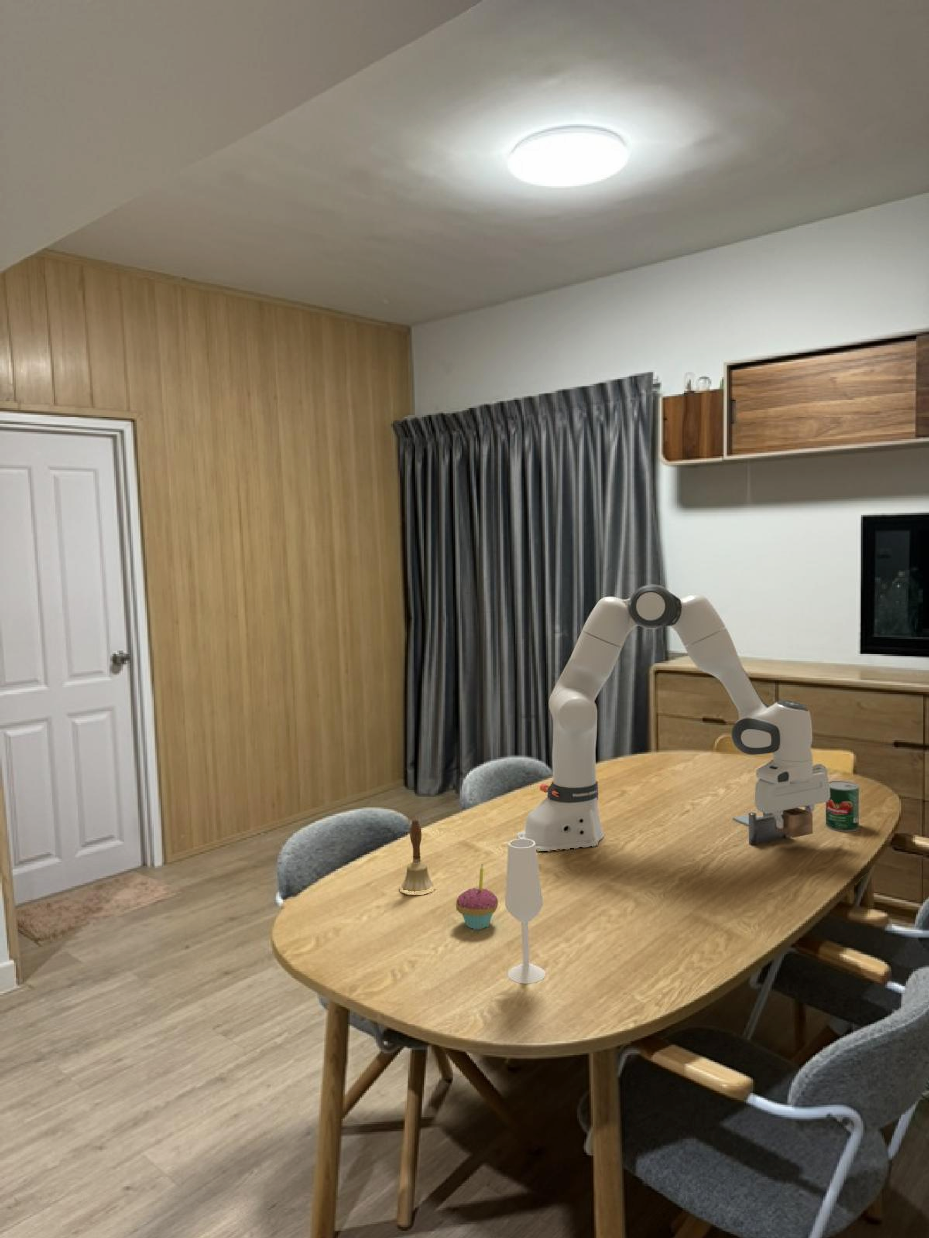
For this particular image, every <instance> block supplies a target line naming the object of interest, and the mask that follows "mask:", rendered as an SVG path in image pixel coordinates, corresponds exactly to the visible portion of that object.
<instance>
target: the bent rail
mask: <svg viewBox="0 0 929 1238" xmlns="http://www.w3.org/2000/svg"><path fill="white" fill-rule="evenodd" d="M748 815H749V827H748V844H749V845H751V846H756V845H758V844H762V843H763V842H764V843H767V842H772V841H777V840H782V839H785V838H786V840H787V839H790V838H791V837H790V836H787V835H785V834H783V833H780V832H778V831H775V817H774V816H773V814H772V813H769V814H766V813H763V812H762V816H761V817H760V818H756V815H757V813H756V812H748Z"/></svg>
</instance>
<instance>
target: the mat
mask: <svg viewBox="0 0 929 1238" xmlns="http://www.w3.org/2000/svg"><path fill="white" fill-rule="evenodd" d="M760 817H762V816H760V815H758V814H756V818H760ZM732 821H735V822H737V823H740V824H742V825H744V826H746V827H748V828H749V814H745V815H739V816H735V817H732Z"/></svg>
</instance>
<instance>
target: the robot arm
mask: <svg viewBox="0 0 929 1238" xmlns="http://www.w3.org/2000/svg"><path fill="white" fill-rule="evenodd" d="M636 627H641V628H644V629H647V630H656V629H660V628H665V627H670V628H672V629H673V630H674V631H675V632H676V634H677V636H679V637H678V638H679V639H680V641H681V643H682V645H683V646H684V648H685V651H686V652H687V655H688V656H689V658H690V660H691V661H692V663H694V665H695V667H697V668H698V670H700V671H701V672H703V673H706V674H709V675H710V676H713V677H714V678H716V679H717V680H719V681H720V682H721V684H722V685H723V687H724V688H725V690H726V691H727V694H728V696H729V697H730V699H731V701H732V702H733V704H734V705H735V707H736V709H737V713H738V720H737V721H736V722H735V724H734V725H733V727H732V729H731V740H732V742H733V744H734V746H735V748H736V749H738V750H739V751H740V752H741V753H744V754H746V755H751V756H757V755H766V754H772V759H771V760H770V761H769V762H767V763H766V764H764V765H762V766H761V767H759V768H757V769H756V771H755V777H756V779H758V780H757V781H756V783H755V787H754V805H755V808H756V810H757V811H758V812H760V813H762V814H763V813H766V814H769V813H772V814H773V816H774V817H775V819H776V825H777V827H778V828H780V829H781V828H785V827H786V821H785V820H783V819H782V816H781V815H783V811H784V810H789V809H794V808H804V810H805V811H808V812H811V813H812V814H813V813H814V810H815V805H818V804H824V803H826V802H828V800H829V798H830V787H829V782H830V781H829V777H828V768H827V767H826V766H825V765H823V764H821V763H817V764H813V754H812V753H813V752H812V750H811V749H812V748H811V747H812V743H813V725H812V724H813V723H812V718H811V713H810V711H809V709H808V708H807V707H806V706H805V705H803V704H801V703H799V702H798V701H797V702H796V701H793V700H792V701H791V700H778V701H776V702H775V703H774V704H772V705H770V706H769V705H768V704H767V703H765V701H763V699H762V698H761V696H760V695H759V693H758V692H757V689H756V688H755V686H754V684H753V683H752V681H751V679H750V677H749V676H748V674H747V672H746V671H745V668H744V667H743V664H742V662H741V660H740V657H739V655H738V652H737V649H736V647H735V645H734V641H733V639H732V636H731V635H730V633H729V631H728V628H727V627H726V624H725V623H724V621H723V620H722V618H721V617H720V614H719V613H718V612H717V610H716V608H715V607H714V606H713V604H712V603H711V602H710V601H709V599H708V598H707V597H705V596H704V595H702V594H689V595H686V596H684V597H681V598H679V597H678V596H676V595H675V594H673V593H672V592H670V591H669V590H668V589H666V588H665V587H663V586H662V585H659V584H647V585H642V586H640V587H639V588H638V589H636V590H635V591H634V592H633V593H632V594H631V596H630V597H629V598H627V599H622V598H619V597H617V596H616V597H615V596H605V597H602V598H601V599H600V600H598V602H597V603H596V604H595V606H594V608H593V609H592V611H591V612H590V614H589V615H588V617H587V619H586V621H585V623H584V625H583V627H582V629H581V633H580V635H579V636H578V638H577V642H576V644H575V646H574V649H573V650H572V653H571V656H570V657H569V659H568V661H567V663H566V665H565V667H564V669H563V670H562V673H561V674H560V675H559V678H558V680H557V681H556V683H555V686H554V687H553V690H552V692H551V693H550V696H549V699H548V709H549V711H550V714H551V717H552V749H551V750H552V753H551V756H552V757H551V759H552V781H551V783H550V785H547V784H546V783H545V782H544V783H541V784H540V785H539V790H540V791H541V792H543V793H545V794H546V793H547V795H546V796H547V797H545V799H543V800H542V801H541V802H540V803H539V804H538V805H537V806H536V807H535V808H533V810H531V811H530V812H529V813H528V815H527V817H526V821H525V830H522V831H518V832H517V836H516V837H517V838H518V839H530V840H533V841H534V842H535V845H536V850H538V851H537V852H539V850H540V851H548V850H554V849H565V850H571V849H570V848H574V849H580V848H579V847H583V848H589V847H590V846H592V847H596V845H597V846H598V845H599V842H600V841H601V840H602V839H603V838H604V836H605V833H604V830H603V826H602V822H601V819H600V813H599V806H598V801H599V785H598V784H599V783H598V781H597V767H596V748H597V734H598V733H597V731H598V708H597V704H596V702H595V701H596V698H597V697H598V695H599V693H600V692H601V690H602V688H603V687H604V685H605V683H606V682H607V680H608V679H609V678H610V676H611V674H612V673H613V670H614V668H615V665H616V663H617V661H618V658H619V656H620V653H621V651H622V649H623V647H624V644H625V642H626V639H627V637H628V635H629V634H630V632H631V631H632V630H633V629H634V628H636ZM517 838H516V839H517ZM548 852H549V851H548Z"/></svg>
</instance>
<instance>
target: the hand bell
mask: <svg viewBox="0 0 929 1238" xmlns="http://www.w3.org/2000/svg"><path fill="white" fill-rule="evenodd" d="M422 834H423V833H422V827H421V825H420V822H419V819H417V818H413V819H412V822H411V825H410V829H409V837H410V842H411V846H412V862H410V863H409V864H408V865H407V866H406V876H405V879H404V880H403V882H402V883H401V884H402V885H401V884H400V885H401V886H402V888H403V890H408V891H414V892H415V891H421V890H427V889H429V888H430V887H431V886H433V882H434V881H433V882H432V879H431V878H430V875H429V871H428V866H427V864H426V862H423V861H421V848H420V847H421V843H422V837H423V836H422Z"/></svg>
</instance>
